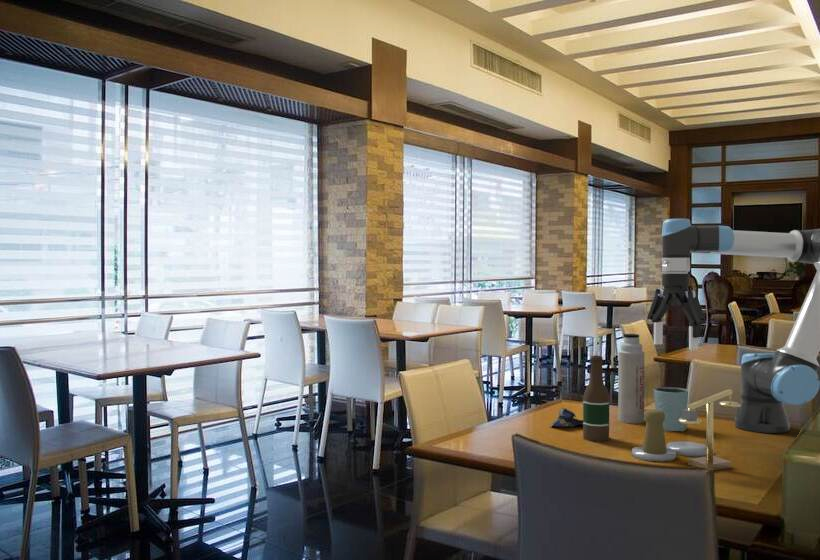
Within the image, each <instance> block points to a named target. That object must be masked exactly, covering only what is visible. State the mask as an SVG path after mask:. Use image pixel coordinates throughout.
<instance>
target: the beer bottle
mask: <svg viewBox="0 0 820 560" xmlns="http://www.w3.org/2000/svg"><path fill="white" fill-rule="evenodd" d="M589 360H590V373H589V374H590V375H589V383H588V385H587V386H586V388H585V390H584V393H583V400H582V401H583V402H582V410H583V411H582V415H583V416H582V417H583V419H582V420H583V424H582V425H583V426H582V432H583V433H582V434H583V435H582V436H583V439H584V440H586V439H587V441H589V442H597V441H599V442H598V443H601V441H602V442H607V441H609V439H610V393H609V390H608V388H607V387H606V386H607V385H605V384H604V375H603V361H604V358H603V356H602V355H591V356H590V359H589Z"/></svg>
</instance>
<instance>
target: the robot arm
mask: <svg viewBox="0 0 820 560" xmlns="http://www.w3.org/2000/svg"><path fill="white" fill-rule="evenodd" d="M661 248H662V250H661V251H662V253H661V255H662V256H661V257H662V258H661V261H662V262H661V271H662V272H663V273H662V274H661V286H662V287H663V288H656V289H655V291H654V298H653V299H652V303H651V305H650V308H649V310H648V313H647V317H646V319H648V320H650V321H651V322H652V334H653V345H656V346H657V345H663V342H664V337H663V336H664V334H663V333H664V331H663V330H664V322H663V320H662V319H663V317H664V316H665V315H666V314H667V312H668V311H669V308H670V307H671V306H675V307H676V306H678V307H679V308H681V310H682V311H683V313H684V315H685V316H686V318H687V320H688V321H689V323H690V325H689V326H688V350H689V351H690V350H691V351H692V350H693V351H694V350H699V338H700V336H701V326H702V325H706V324H707V319H706V316H705V314H704V311H703V308H702V306H701V303H700V300H699V297H698V290H695V289H693V290H690V289H689V287H690V286H691V275H690V273H689V272H690V271H691V254H713V255H726V256H727V255H731V256H749V257H764V258H783V259H787V260H788V261H789V262H791V263H792V262H793V263H794V262H795V263H805V264H809V265H810V264H811V265H813V266H814V267H815V270H816V273H815V275H814V277H813V280H812V282H811V284H810V287H809V289H808V292H807V294H806V296H805V298H804V300H803V303H802V305H801V308H800V310H799V312H798V314H797V317H796V319H795V321H794V324H793V326H792V329H791V331H790V333H789V336H788V337H787V340H786V341H785V345H784V346H782V347H781V348H780V347H779V348H778V349H776V350H775V352H774V353H744V354H743V355H742V357H741V362H740V363H741V364H740V370H741V371H740V375H741V376H740V380H741V381H740V383H741V384H740V385H741V386H740V389H741V390H740V395H741V396H740V403H741V407H737V408H738V409H737V412H736V415H735V417H734V426H735V428H738V429H741V430H745V431H749V432H755V433H765V434H766V433H767V434H780V433H782V434H783V433H787V432H789V431H790V430H791V427H790V420H789V419H788V414H787V412H786V409H785V405H784V404H787V405H794V406H799V405H804V404H806V403H808V402H810V401H812V400H813V399H814V398H816V395H817V394H818V392H819V390H820V380H819V375H818V374H817V373H818V371H819V369H820V364H819V362H818V360H817V358H818V355H819V352H820V228H814V229H805V230H799V229H793V230H791V231H789V232H774V231H773V232H772V231H771V232H770V231H769V232H768V231H757V230H756V231H753V230H734V229H732V228H731V227H730V226H728V225H692V223H691V220H690V219H689V218H668V219H665V220H664V221H663V222H662V228H661Z"/></svg>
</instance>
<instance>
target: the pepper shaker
mask: <svg viewBox="0 0 820 560" xmlns="http://www.w3.org/2000/svg"><path fill="white" fill-rule="evenodd" d="M664 420H665V414H664V412H663V411H661V410H658V409H655V408H650V409H646V410H644V421H645V422H646V423H645V429H644V430H645V431H644V437H643V445H642V446H643V452H646V453H650V454H665V453H667V450H666V448H667V442H666V438H665V431H664V429H663V422H664Z"/></svg>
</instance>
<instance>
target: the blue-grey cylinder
mask: <svg viewBox="0 0 820 560" xmlns="http://www.w3.org/2000/svg"><path fill="white" fill-rule="evenodd" d="M653 398H654V405H655V406H654V409H658V410H661V411H663V412H664V414H665V420H664V422H663V429H664V430H665V431H664V432H671V431H681V432H685V431H686V430H687V424H683V423H680V422H679V418H682V410H683V409H688V407H687V405H688V403H689V390H688V389H686V388H682V387H681V388H680V387H671V386H669V387H668V386H661V387H660V386H659V387H654V388H653ZM684 430H685V431H684Z"/></svg>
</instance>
